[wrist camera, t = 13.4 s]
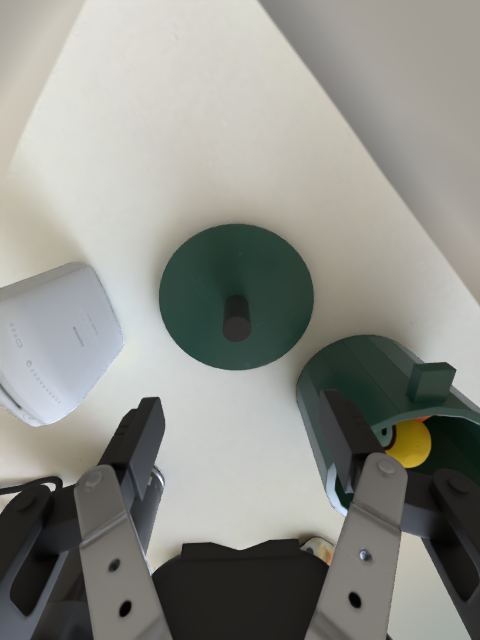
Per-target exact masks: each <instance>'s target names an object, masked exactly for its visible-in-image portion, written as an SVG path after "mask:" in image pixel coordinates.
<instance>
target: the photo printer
mask: <svg viewBox="0 0 480 640" xmlns="http://www.w3.org/2000/svg"><path fill="white" fill-rule="evenodd" d="M123 347H124V340H123V336H122V333H121V330H120V328H119V325H118V323H117V320H116V318H115V315H114V313H113V310H112V308H111V306H110V303H109V301H108V299H107V297H106V295H105V292H104V290H103V288H102V286H101V283H100V281H99V279H98V277H97V275H96V273H95V272H94V270H93V269H92V267H91V266H89V265H88V266H87V265H85V264H82V263H69V264H66V265H63V266H60V267H58V268H55V269H52V270H49V271H46V272H44V273H41V274H38V275H35V276H33V277H30V278H27V279H24V280H21V281H19V282H16V283H13V284H10V285H8V286H5V287H2V288H0V404H1V405H2V406H3V407H4V408H5V409H6V410H7V411H9V412H10V413H11V414H12V415H14V416H15V417H17V418H18V419H20V420H21V421H23V422H25V423H27V424H29V425H31V426H33V427H38V426H40V425H50V424H53V423H55V422H57V421H58V420H60V419H62V418H63V417H65V416H66V415H68V414H69V413H70V412H72V411H73V410H74V409H75V408H76V407H77V406H78V405H79V404H80V403H81V402H82V400H83V399H84V398H85V396H86V395H87V394H88V393H89V391H90V390H91V389H92V388H93V386H94V385H95V384H96V383H97V381H98V380H99V379H100V377H101V376H102V375H103V374H104V372H105V371H106V370H107V368H108V367H109V366H110V365H111V363H112V362H113V361H114V359H115V358H116V357H117V356H118V354H119V353H120V352H121V350H122V349H123Z"/></svg>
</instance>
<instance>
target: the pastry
mask: <svg viewBox="0 0 480 640" xmlns="http://www.w3.org/2000/svg"><path fill="white" fill-rule="evenodd" d="M300 549H302V550H305V551H308V552H310V553H312V554H314V555H316V556H317V557H319V558H320V559H322V560H323V561H324V562H326V563H327V564H328V565H329V566H330V563H331V560H332V557H333V554H334V551H335V547H334V546H332V545H331V544H330V543H329V542H326V541H325V540H324V539H322V538H315V537H314V538H312V539H310V540H308V541H307V542H306V543H305V544H304V546H302V547H300Z"/></svg>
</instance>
